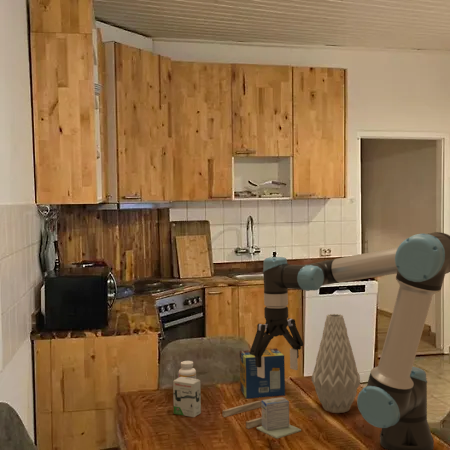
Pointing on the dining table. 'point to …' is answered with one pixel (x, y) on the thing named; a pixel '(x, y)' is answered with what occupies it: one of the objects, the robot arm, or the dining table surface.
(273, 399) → the medicine box
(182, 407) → the ink box
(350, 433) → the dining table surface
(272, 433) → the sage mat
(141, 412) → the dining table surface
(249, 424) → the slot rack
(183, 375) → the supplement bottle
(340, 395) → the vase
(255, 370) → the protein box
